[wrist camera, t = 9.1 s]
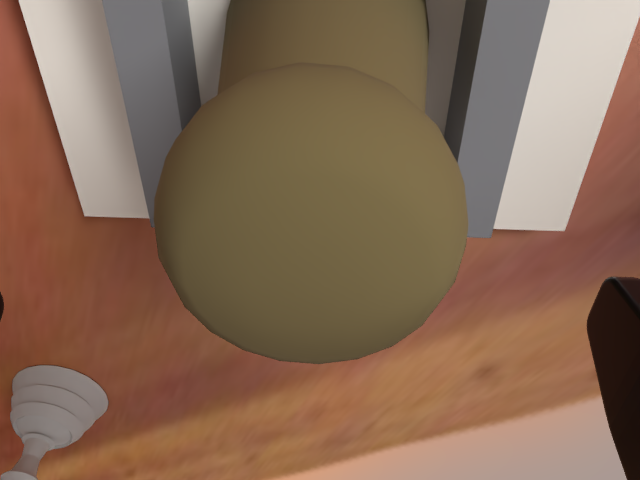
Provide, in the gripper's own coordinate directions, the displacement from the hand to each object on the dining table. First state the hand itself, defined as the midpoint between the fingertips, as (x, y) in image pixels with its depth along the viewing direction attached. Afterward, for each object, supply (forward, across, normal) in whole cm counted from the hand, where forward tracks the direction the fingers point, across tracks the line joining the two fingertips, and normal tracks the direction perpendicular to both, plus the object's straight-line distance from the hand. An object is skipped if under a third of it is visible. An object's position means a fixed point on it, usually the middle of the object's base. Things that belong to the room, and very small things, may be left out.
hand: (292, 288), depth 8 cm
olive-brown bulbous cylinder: (+11, 0, 0) cm, 11 cm away
